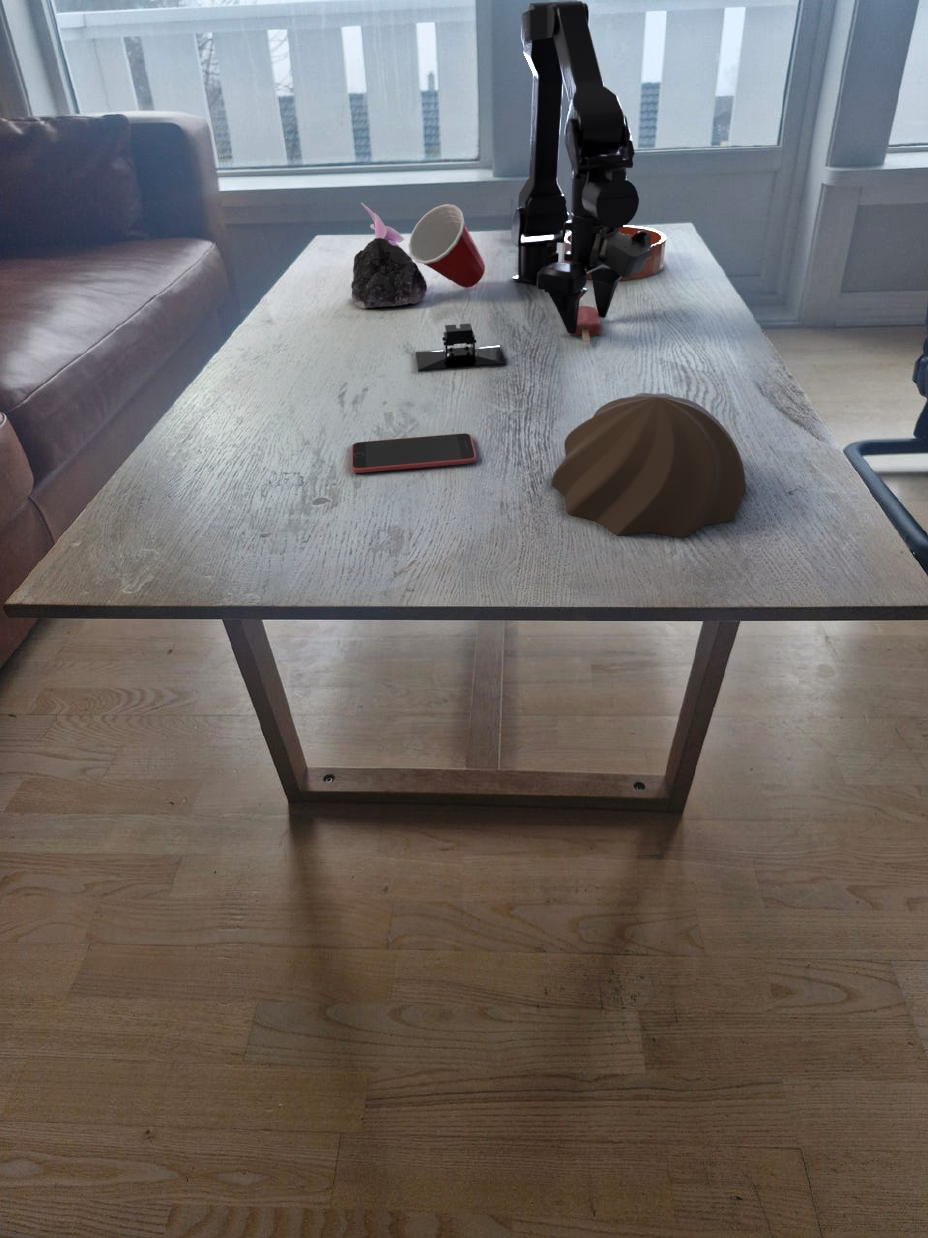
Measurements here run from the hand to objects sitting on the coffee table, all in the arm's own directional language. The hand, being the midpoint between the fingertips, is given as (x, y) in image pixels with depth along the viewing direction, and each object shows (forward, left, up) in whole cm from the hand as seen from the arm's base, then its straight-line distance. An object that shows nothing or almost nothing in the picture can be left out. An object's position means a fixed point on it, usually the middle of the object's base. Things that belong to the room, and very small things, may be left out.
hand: (587, 325), depth 121 cm
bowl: (-15, +32, -1) cm, 35 cm away
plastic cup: (-30, +9, +2) cm, 31 cm away
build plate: (-8, -20, -1) cm, 22 cm away
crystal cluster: (-37, -5, -1) cm, 38 cm away
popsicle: (0, 0, -1) cm, 1 cm away
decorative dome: (+32, -37, -1) cm, 49 cm away
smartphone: (+7, -46, -1) cm, 47 cm away
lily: (-56, +14, -1) cm, 58 cm away
